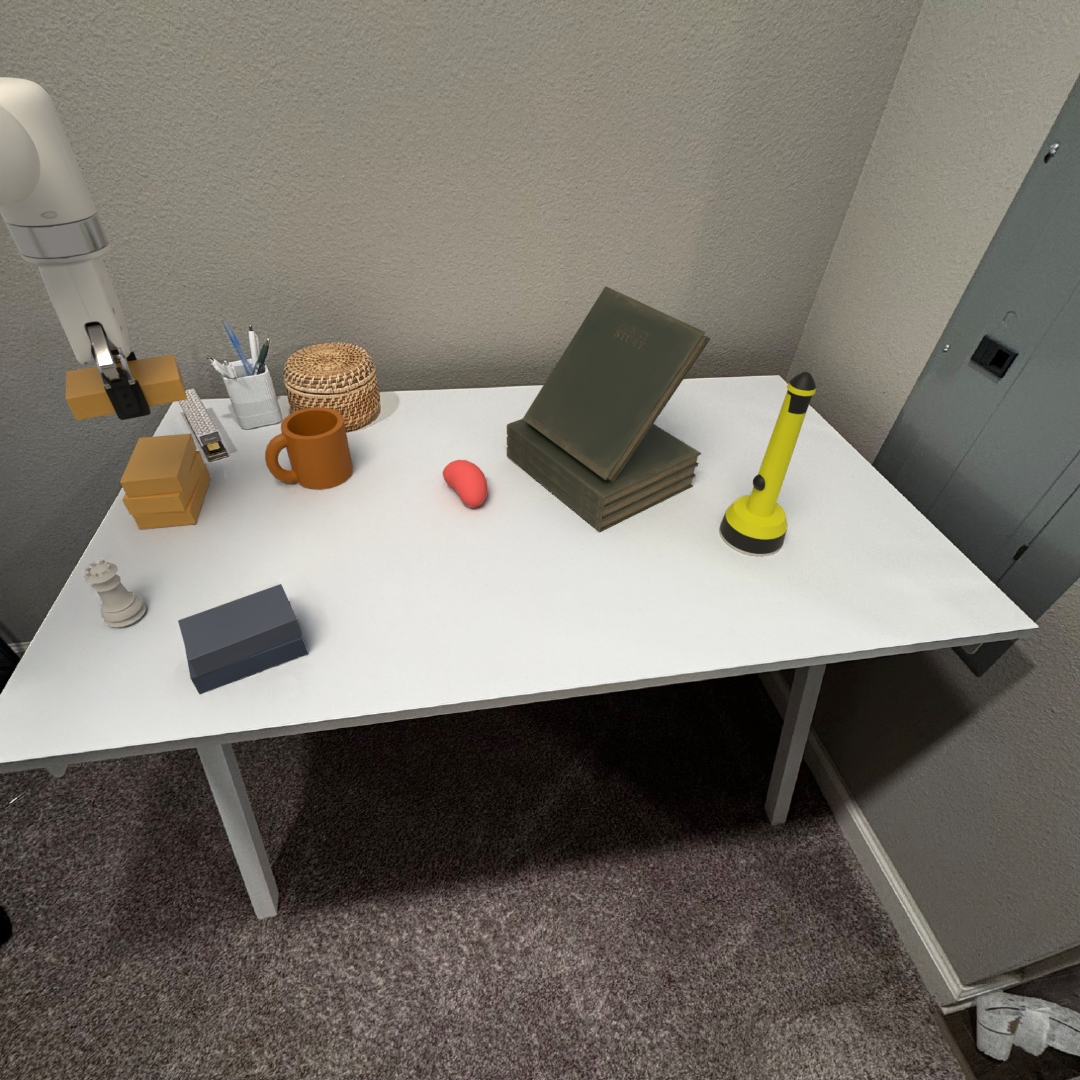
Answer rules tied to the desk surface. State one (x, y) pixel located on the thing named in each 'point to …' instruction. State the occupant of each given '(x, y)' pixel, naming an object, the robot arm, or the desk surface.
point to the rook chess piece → (114, 595)
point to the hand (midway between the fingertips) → (133, 399)
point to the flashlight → (769, 481)
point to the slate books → (241, 638)
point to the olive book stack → (611, 414)
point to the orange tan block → (152, 374)
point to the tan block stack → (165, 482)
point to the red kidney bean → (466, 481)
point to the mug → (312, 449)
